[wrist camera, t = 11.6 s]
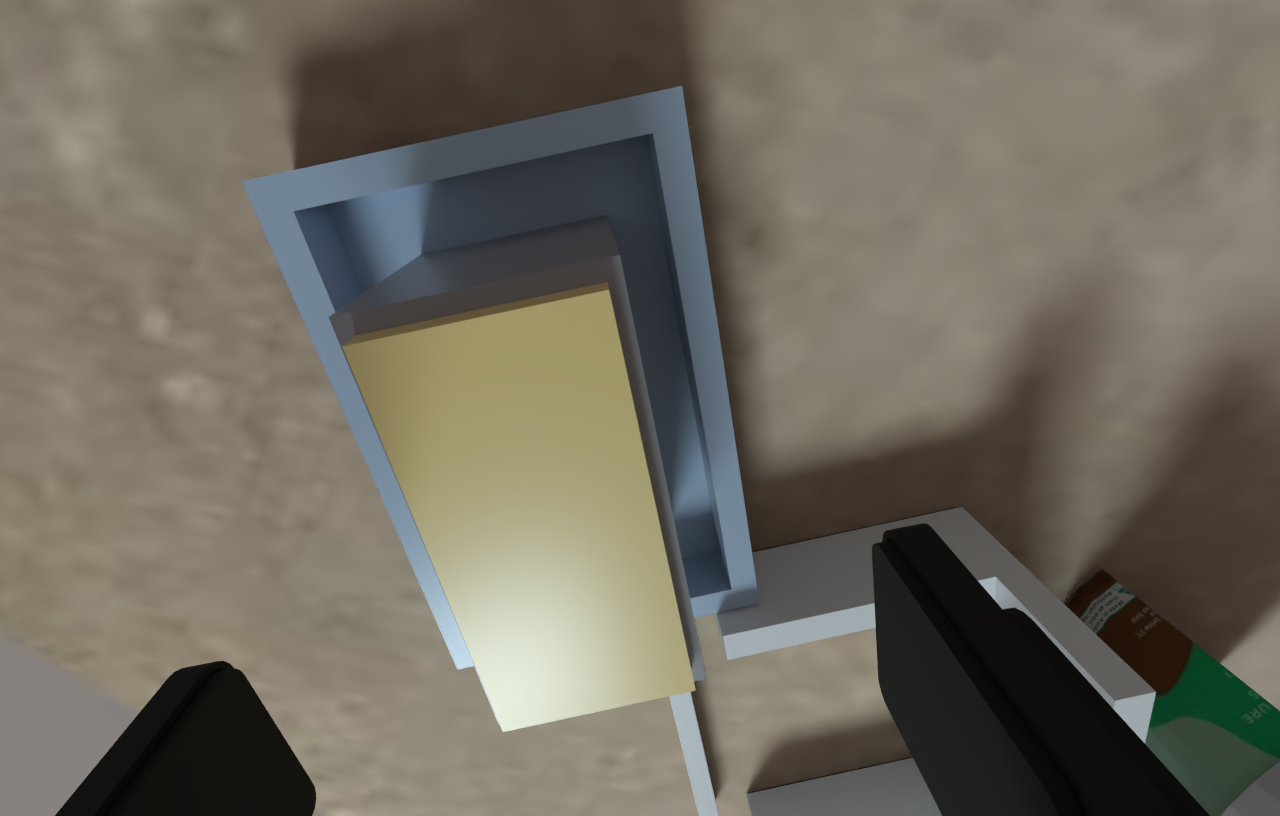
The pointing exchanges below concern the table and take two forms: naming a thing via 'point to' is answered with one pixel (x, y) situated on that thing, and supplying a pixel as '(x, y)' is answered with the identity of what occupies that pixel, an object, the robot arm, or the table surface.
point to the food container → (1191, 705)
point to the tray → (520, 202)
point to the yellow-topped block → (532, 467)
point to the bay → (844, 603)
